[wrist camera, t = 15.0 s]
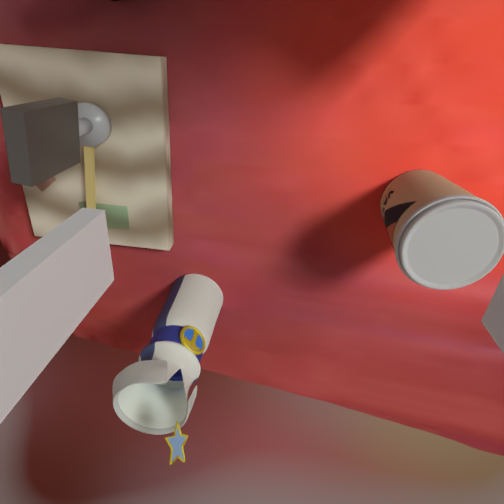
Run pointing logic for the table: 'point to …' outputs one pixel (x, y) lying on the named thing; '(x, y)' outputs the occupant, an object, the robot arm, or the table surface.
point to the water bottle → (170, 363)
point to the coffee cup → (441, 230)
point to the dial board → (113, 149)
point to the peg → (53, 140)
